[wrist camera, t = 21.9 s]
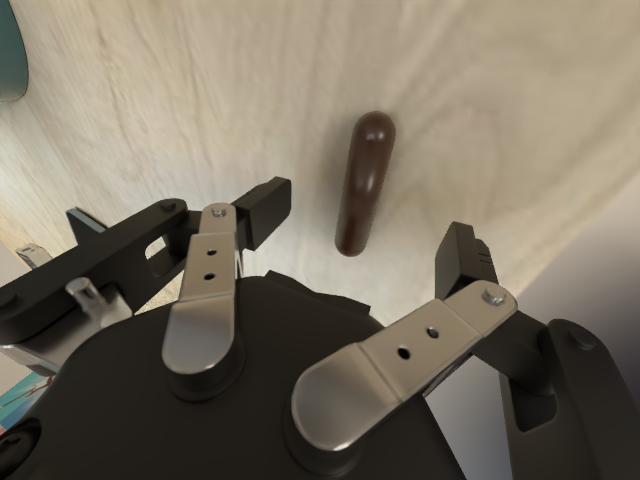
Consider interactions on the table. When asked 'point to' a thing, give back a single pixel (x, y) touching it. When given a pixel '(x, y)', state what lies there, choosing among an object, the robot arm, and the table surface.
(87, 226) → the smartphone
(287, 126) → the table surface
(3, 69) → the bowl
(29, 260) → the multiport hub
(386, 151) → the stick
